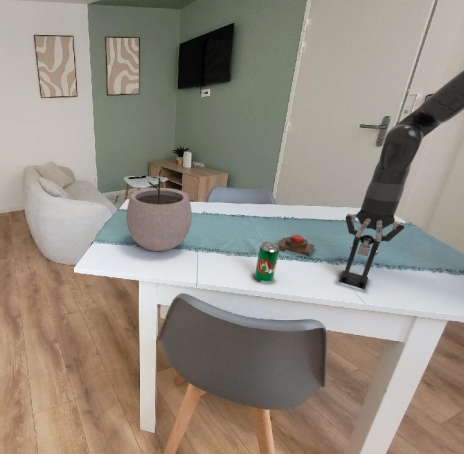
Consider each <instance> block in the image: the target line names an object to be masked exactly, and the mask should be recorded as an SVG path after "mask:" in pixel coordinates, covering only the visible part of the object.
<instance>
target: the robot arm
mask: <svg viewBox="0 0 464 454" xmlns="http://www.w3.org/2000/svg"><path fill="white" fill-rule="evenodd" d="M463 111H464V69H463V70H462V71H461V72H459V73H458V74H456V75H454V77H452V78H451V79H450V80H449V81H447V82H446V83H445V84H444V85H443V86H442V87H440V88H439V89H438V90H437V91H435V92H434V93H433V94H432V95H431V96H430V97H428V98H427V99H426V100H424V102H423V103H422V104H421V105H420V106H419V107H418V108H417V109H415V110H413V111H412V112H411V113H409V114H408V115H406V117H404V118H402V119H401V120H400V121H399V122H397V123H396V124H395V125H394V126H392V127H391V128H390V129H389V130H388V132H387V133H386V135H385V137H384V141H383V145H382V149H381V152H380V156H379V160H378V161H377V164H376V166H375V168H374V171H373V174H372V177H371V180H370V182H369V184H368V186H367V188H366V190H365V195H364V198H363V201H362V204H361V207H360V210H359V211H358V212H357V213H354V214H351V213H347V214H346V216H345V222H346V226H347V227H346V228H347V231H348V234H349V235H353V236H354V239H353V241H352V245H353V244H354V242H355V239H357V240H360V238H361V237H362V236H363V233H364V232H365V230H366V229H368V230H369V229H370V230H373V231H375V238H374V242H373V243H376V244H378V247H377V250H379V247H380V245H381V242H390V241H392V240H393V239H394V238H395V237H396V236H397V235H398V234H399V233H400V232H401V231H403V230H404V229H405V223H403V222H399V221H398V220H396V218H395V214H396V212H397V209H398V206H399V204H400V202H401V199H402V197H403V193H404V189H405V185H406V182H407V180H408V176H409V174H410V170H411V167H412V163H413V162H414V159H415V157H416V155H417V153H418V151H419V149H420V146H421V145H422V142H423V139H424V138H425V137H426V136H427V135H429V134H430V133H432V132H433V131H435V129H437V128H438V127H439V126H441V125H443V124H445V123H446V122H449V121H450V120H451V119H453V118H454V117H457V115H458V114H460V113H462V112H463ZM356 219H357V220H358V222H359V224H360V226H359V227H358V229H355V224H354V222H355V221H356ZM391 225H392V227H391V228H392V229H391V230H390V231H389V232H388V233H387V234H385V235H383V229H385V228H387V227H389V226H391ZM373 243H372V244H371V247H370V250H371V249H372V246H373Z"/></svg>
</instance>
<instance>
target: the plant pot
mask: <svg viewBox="0 0 464 454" xmlns="http://www.w3.org/2000/svg"><path fill="white" fill-rule="evenodd" d="M161 174H162V169H160V170H159V172H158V176H159V177H157V176H151V175H150V178H153V179H157V181H158V183H157V187H156V186H155V184H154V183H152V182H150V181H147V183H148V184H149V185H150V186H153V187H148V188H142V189H138V190H135V191H133V192H132V193H131V194H130V195H129V200H128V204H127V209H126V225H127V229H128V232H129V234H130V237H131V238H132V240H133V241H134V242H135V243H136V244H137V245H139V246H140V247H142V248H144V249H146V250H149V251H153V252H164V251H169V250H172V249H174V248H177V247H178V246H179V245H180V244H182V243H183V242H184V240H185V239H186V237H187V236H188V234H189V232H190V229H191V225H192V220H193V213H192V205H191V200H190V195H189V194H188V193H187V192H185V191H183V190H179V189H176V188H170V187H168V188H167V187H161V185H162V183H163V179H164V178H165V177H166V174H167V173H165V174H164V176H163V177H162V180H161Z"/></svg>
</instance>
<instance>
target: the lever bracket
mask: <svg viewBox="0 0 464 454" xmlns="http://www.w3.org/2000/svg"><path fill="white" fill-rule="evenodd" d="M360 242H361V241H360V240H357V239H355V242H354V244H353V243H352V244H350V246H349V250H350V253H349V257H348V259H347V262H346V265H345V268H344V270H342V272H341V273H340V274H341V275H340V277H339V279H338V283H341V284H343V285H348V286H352V287H353V288H354V287H355V288H358V289H361V290H366V288H367V285H368V279H369V276H368V275H369V272H370V270H371V267H372V264H373V261H374V259H375V256H378V255H379V249H377V247H378V244H376V243H372V245H373V246H372V245H371V248H372V249H371V248H370V251H369V253H368V256H367V257H368V258H367V260H366V264H365V266H364V268H363V271H362V274H359V273H355V272H351V267H352V265H353V262H354V258H355V256H356V254H357V251H358V248H359V245H360ZM378 248H379V247H378Z"/></svg>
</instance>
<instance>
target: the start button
mask: <svg viewBox="0 0 464 454" xmlns="http://www.w3.org/2000/svg"><path fill="white" fill-rule="evenodd" d="M291 236H292V237H291ZM291 236H290V237H291V241H293V242H296V243H302V242H303V239H305V238H304V236H303V235H299V234H292V235H291Z"/></svg>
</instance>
